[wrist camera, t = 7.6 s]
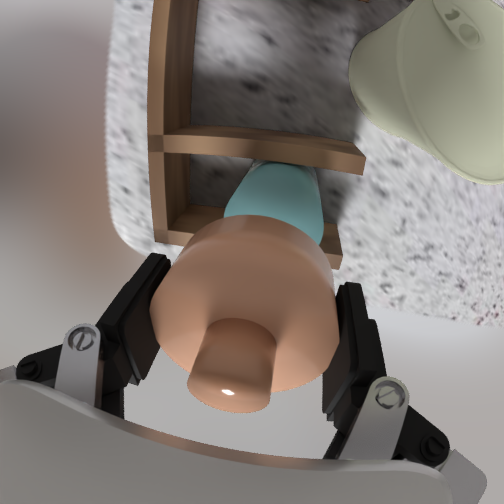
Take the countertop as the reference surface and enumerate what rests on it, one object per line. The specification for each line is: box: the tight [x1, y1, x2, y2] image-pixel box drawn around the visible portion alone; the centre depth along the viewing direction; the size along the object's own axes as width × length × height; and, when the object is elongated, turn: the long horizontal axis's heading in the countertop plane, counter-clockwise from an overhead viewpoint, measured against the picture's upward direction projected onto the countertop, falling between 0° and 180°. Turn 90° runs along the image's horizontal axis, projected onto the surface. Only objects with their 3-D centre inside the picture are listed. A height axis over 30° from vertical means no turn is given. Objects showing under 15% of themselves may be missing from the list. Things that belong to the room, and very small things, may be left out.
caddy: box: [147, 0, 370, 270], centre depth 17 cm, size 14×22×5 cm, turn 176°
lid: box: [149, 215, 339, 413], centre depth 10 cm, size 6×6×5 cm
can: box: [348, 0, 504, 185], centre depth 11 cm, size 9×9×12 cm
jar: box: [224, 159, 324, 246], centre depth 19 cm, size 6×6×8 cm
